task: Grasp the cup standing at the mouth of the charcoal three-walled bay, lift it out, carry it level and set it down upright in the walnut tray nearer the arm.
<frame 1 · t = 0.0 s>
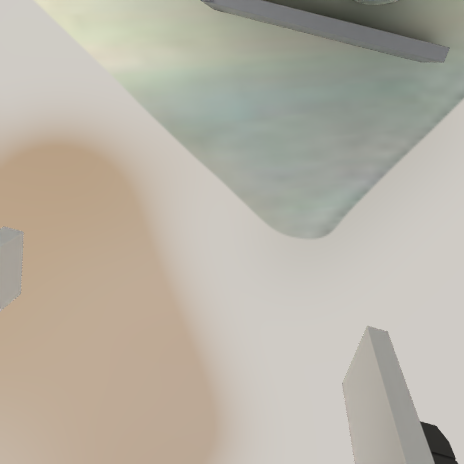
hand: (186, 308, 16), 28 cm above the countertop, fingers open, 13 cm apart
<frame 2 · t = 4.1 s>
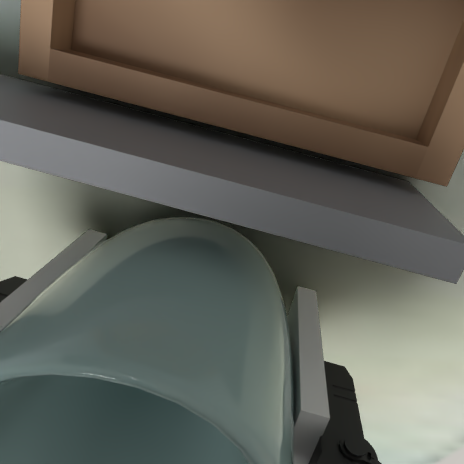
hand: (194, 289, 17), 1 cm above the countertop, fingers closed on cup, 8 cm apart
cup: (197, 279, 18), on the countertop, touching gripper
bay: (151, 274, 18), on the countertop
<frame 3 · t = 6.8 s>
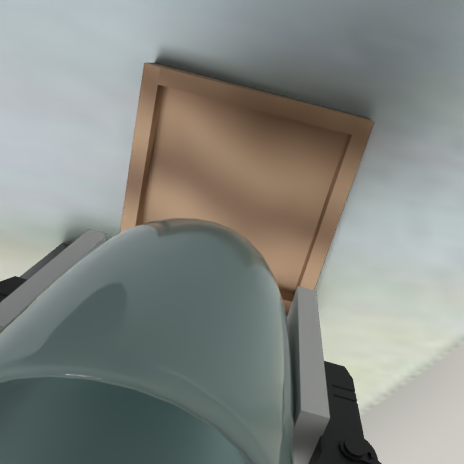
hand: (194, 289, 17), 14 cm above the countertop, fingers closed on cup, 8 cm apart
tray: (234, 193, 30), on the countertop
cup: (197, 280, 18), point 13 cm above the countertop, touching gripper
bay: (171, 345, 35), on the countertop
when the fingers open (2 cm above the countertop, at t = 9.2 s): cup stays where it is, resting on tray.
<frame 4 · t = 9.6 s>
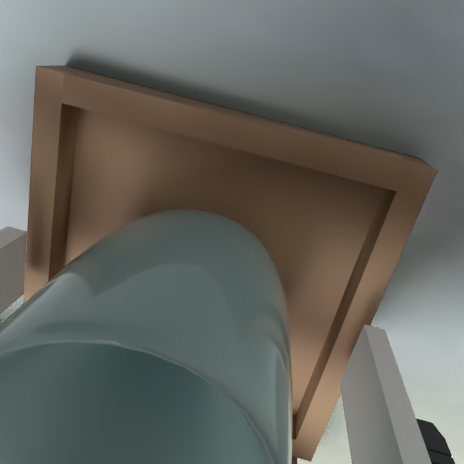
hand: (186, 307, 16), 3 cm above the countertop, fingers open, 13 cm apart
tray: (202, 270, 19), on the countertop
cup: (201, 269, 19), resting on tray
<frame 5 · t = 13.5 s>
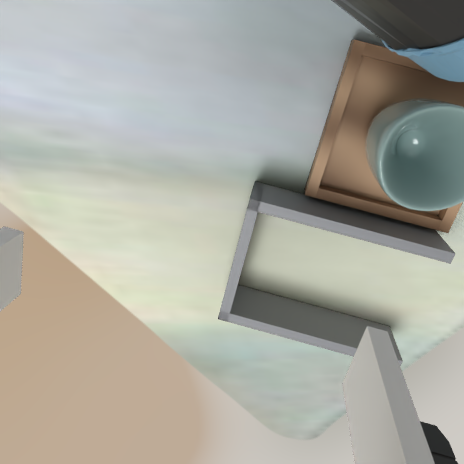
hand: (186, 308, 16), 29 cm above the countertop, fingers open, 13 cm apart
tray: (399, 138, 40), on the countertop
cup: (400, 137, 40), resting on tray
bay: (330, 262, 46), on the countertop
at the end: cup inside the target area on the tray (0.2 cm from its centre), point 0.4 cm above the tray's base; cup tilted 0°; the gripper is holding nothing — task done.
